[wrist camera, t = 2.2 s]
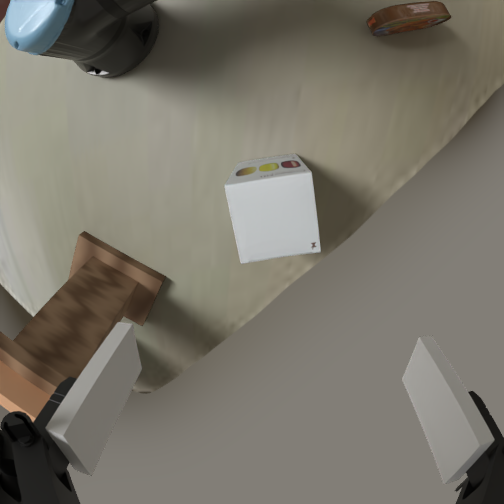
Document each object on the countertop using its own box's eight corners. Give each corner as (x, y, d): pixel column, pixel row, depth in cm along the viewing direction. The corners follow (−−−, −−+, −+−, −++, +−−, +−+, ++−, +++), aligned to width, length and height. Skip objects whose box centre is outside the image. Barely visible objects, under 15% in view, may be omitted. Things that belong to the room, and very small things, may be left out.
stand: (72, 278, 55) (-12, 376, 28) (84, 231, 51) (-23, 324, 24) (145, 320, 59) (89, 442, 31) (165, 276, 54) (99, 407, 27)
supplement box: (297, 152, 45) (316, 169, 29) (305, 209, 48) (325, 253, 33) (235, 162, 46) (221, 185, 30) (246, 218, 49) (239, 266, 34)
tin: (365, 39, 36) (385, 26, 29) (357, 22, 35) (375, 6, 27) (436, 27, 33) (461, 17, 26) (428, 11, 32) (453, -1, 25)
